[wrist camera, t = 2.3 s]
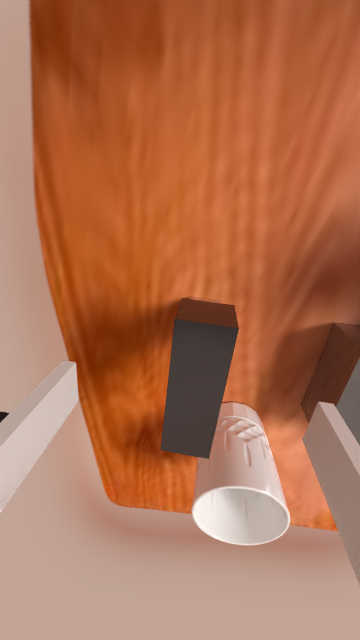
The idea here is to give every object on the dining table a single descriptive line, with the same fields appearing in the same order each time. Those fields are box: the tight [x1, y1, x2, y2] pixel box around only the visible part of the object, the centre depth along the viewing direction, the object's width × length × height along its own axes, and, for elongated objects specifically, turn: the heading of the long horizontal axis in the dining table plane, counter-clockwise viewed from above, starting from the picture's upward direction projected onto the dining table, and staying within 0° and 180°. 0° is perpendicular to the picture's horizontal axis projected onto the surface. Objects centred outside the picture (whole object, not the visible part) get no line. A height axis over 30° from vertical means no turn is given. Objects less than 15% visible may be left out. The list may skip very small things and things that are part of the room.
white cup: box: [192, 402, 290, 545], centre depth 25 cm, size 8×8×10 cm
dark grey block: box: [161, 297, 239, 459], centre depth 19 cm, size 9×3×12 cm, turn 174°
